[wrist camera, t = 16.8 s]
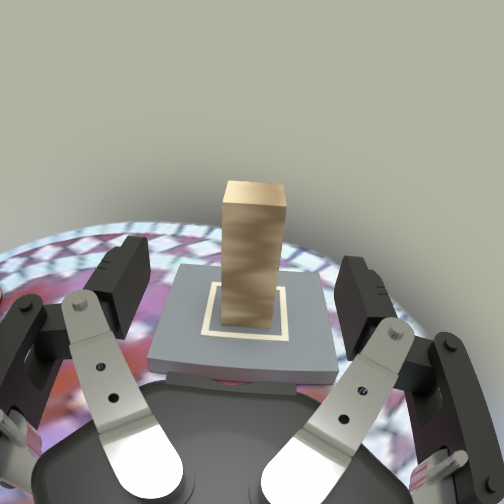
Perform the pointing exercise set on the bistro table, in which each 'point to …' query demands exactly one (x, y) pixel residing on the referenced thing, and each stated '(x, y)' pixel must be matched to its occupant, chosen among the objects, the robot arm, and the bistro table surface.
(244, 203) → the maple block
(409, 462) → the bistro table surface
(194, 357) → the grey rectangular slab
